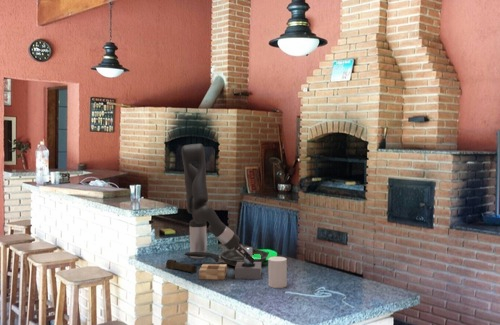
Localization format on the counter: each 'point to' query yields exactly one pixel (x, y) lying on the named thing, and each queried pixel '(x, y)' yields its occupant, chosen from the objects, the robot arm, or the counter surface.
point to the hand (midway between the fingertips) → (252, 260)
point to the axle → (246, 261)
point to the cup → (277, 272)
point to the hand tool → (181, 266)
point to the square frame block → (213, 271)
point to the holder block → (248, 271)
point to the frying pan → (229, 256)
